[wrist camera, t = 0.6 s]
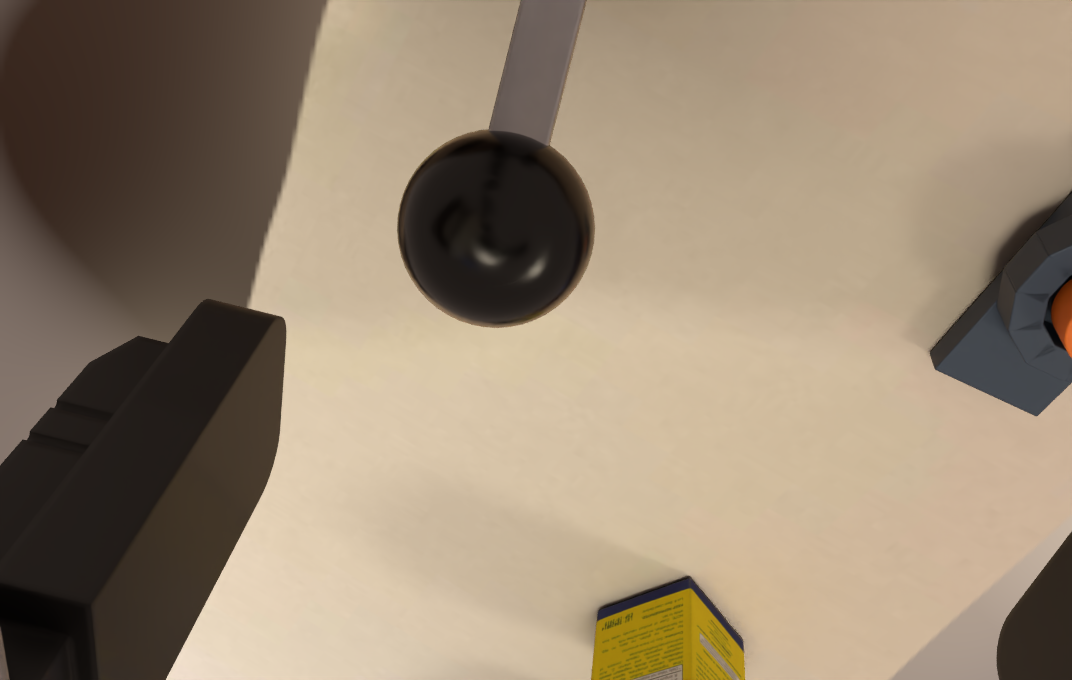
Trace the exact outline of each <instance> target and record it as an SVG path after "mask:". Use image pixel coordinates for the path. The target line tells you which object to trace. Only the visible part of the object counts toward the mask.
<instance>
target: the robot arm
mask: <svg viewBox="0 0 1072 680" xmlns="http://www.w3.org/2000/svg"><path fill="white" fill-rule="evenodd" d="M285 348H286V324H285V320H284V318H282V317H280V316H276V315H272V314H268V313H264V312H260V311H256V310H252V309H248V308H244V307H240V306H235V305H231V304H227V303H223V302H219V301H215V300H211V299H206V300H204V301H203V302H201V303H200V304H199V305H198V306H197V308H196V309H195V310H194V311H193V313H192V314H191V315H190V317H189V318H188V319H187V320H186V322H185V323H184V325H183V326H182V327H181V328H180V330H179V331H178V332H177V334H176V335H175V336H174V337H173V339H172V340H171V341H170V342H169V343H165V342H161V341H157V340H153V339H149V338H145V337H141V336H137V337H136V338H134V339H132V340H130V341H128V342H126V343H124V344H123V345H121V346H119V347H117V348H115V349H113V350H112V351H110V352H108V353H106V354H104V355H102V356H101V357H99V358H97V359H95V360H93V361H91V362H90V363H89V364H88V365H87V366H86V367H85V368H84V369H83V371H82V372H81V373H80V374H79V375H78V376H77V378H76V379H75V380H74V381H73V383H71V384H70V386H69V387H68V388H67V389H66V390H65V391H64V392H63V394H62V395H61V396H60V397H59V398H58V399H57V404H56V406H55V408H50V409H49V410H48V411H47V412H46V414H44V416H43V417H42V418H41V419H40V420H39V421H38V423H37V424H36V425H35V426H34V427H33V428H32V429H31V431H30V435H29V438H28V439H27V440H22V441H21V442H20V444H19V445H18V446H17V447H16V448H15V449H14V450H13V451H12V452H11V454H10V455H9V456H8V457H7V458H6V459H5V461H4V462H3V463H2V464H1V465H0V680H166V678H167V676H168V674H169V672H170V670H171V668H172V666H173V664H174V662H175V661H176V659H177V657H178V655H179V653H180V651H181V649H182V647H183V645H184V643H185V641H186V639H187V638H188V636H189V634H190V632H191V630H192V628H193V626H194V624H195V622H196V620H197V618H198V616H199V615H200V613H201V611H202V609H203V607H204V605H205V603H206V601H207V599H208V597H209V595H210V593H211V591H212V590H213V588H214V586H215V584H216V582H217V580H218V578H219V576H220V574H221V572H222V570H223V568H224V567H225V565H226V563H227V561H228V559H229V557H230V555H231V553H232V551H233V549H234V547H235V545H236V543H237V542H238V540H239V538H240V536H241V534H242V532H243V530H244V528H245V526H246V524H247V522H248V520H249V519H250V517H251V515H252V513H253V511H254V509H255V507H256V505H257V503H258V501H259V499H260V497H261V495H262V493H263V491H264V489H265V487H266V484H267V482H268V479H269V476H270V473H271V470H272V467H273V463H274V460H275V456H276V452H277V447H278V442H279V434H280V422H281V407H282V392H283V377H284V363H285ZM997 670H998V676H999V680H1072V532H1071V533H1070V535H1069V536H1068V537H1067V538H1066V540H1065V541H1064V542H1063V544H1062V545H1061V546H1060V548H1059V549H1058V550H1057V551H1056V553H1055V554H1054V556H1053V557H1052V558H1051V559H1050V561H1049V562H1048V563H1047V565H1046V566H1045V567H1044V569H1043V570H1042V571H1041V572H1040V574H1039V575H1038V576H1037V578H1036V579H1035V580H1034V582H1033V583H1032V584H1031V586H1030V587H1029V588H1028V590H1027V591H1026V592H1025V593H1024V595H1023V596H1022V598H1021V599H1020V600H1019V601H1018V603H1017V604H1016V605H1015V607H1014V608H1013V609H1012V611H1011V612H1010V614H1009V615H1008V616H1007V618H1006V620H1005V622H1004V624H1003V627H1002V629H1001V632H1000V637H999V641H998V647H997Z"/></svg>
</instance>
